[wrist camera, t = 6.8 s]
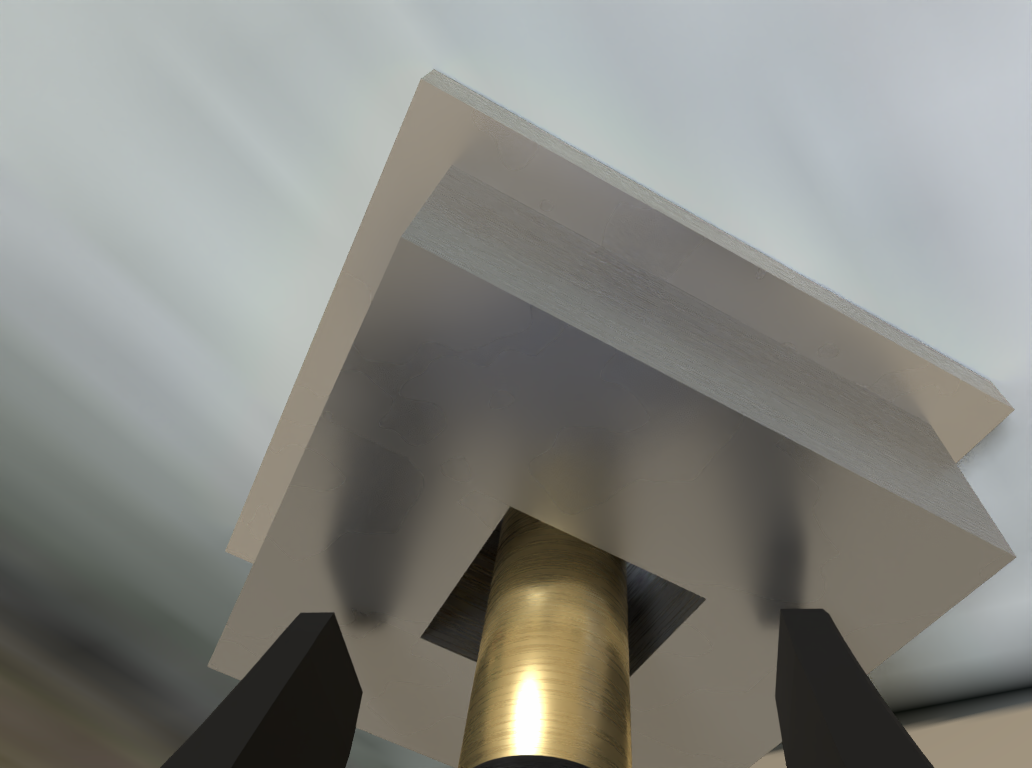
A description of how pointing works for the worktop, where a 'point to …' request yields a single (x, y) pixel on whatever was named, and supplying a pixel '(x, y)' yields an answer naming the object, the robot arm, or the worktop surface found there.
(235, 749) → the robot arm
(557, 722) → the brass cylinder rod
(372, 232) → the chuck block
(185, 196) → the worktop surface
